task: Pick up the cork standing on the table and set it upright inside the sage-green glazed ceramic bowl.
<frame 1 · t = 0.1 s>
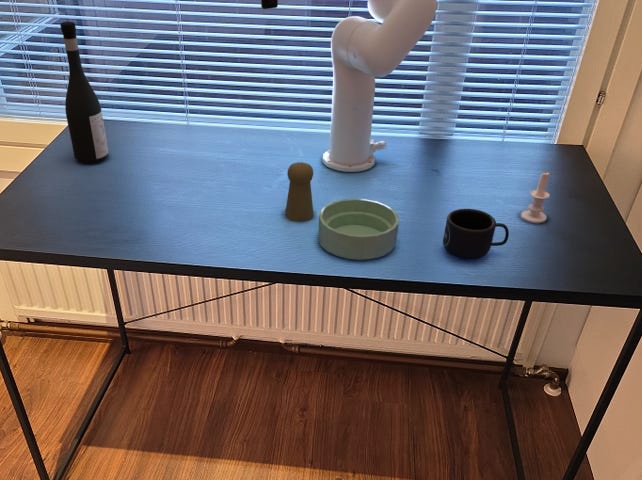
hand: (257, 2, 128), 37 cm above the table, tool pointing down, fingers open, 9 cm apart
mug: (472, 253, 128), on the table
wine bottle: (92, 159, 160), on the table
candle: (533, 218, 140), on the table
bowl: (356, 241, 131), on the table
cork: (299, 215, 139), on the table
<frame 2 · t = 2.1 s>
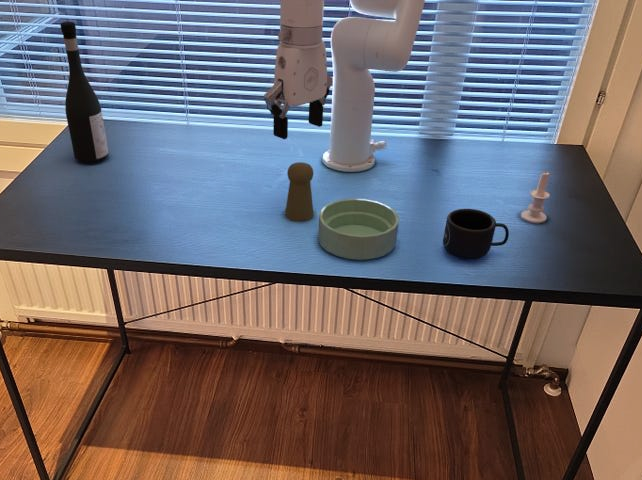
hand: (298, 130, 128), 18 cm above the table, tool pointing down, fingers open, 9 cm apart
nothing on the table moved.
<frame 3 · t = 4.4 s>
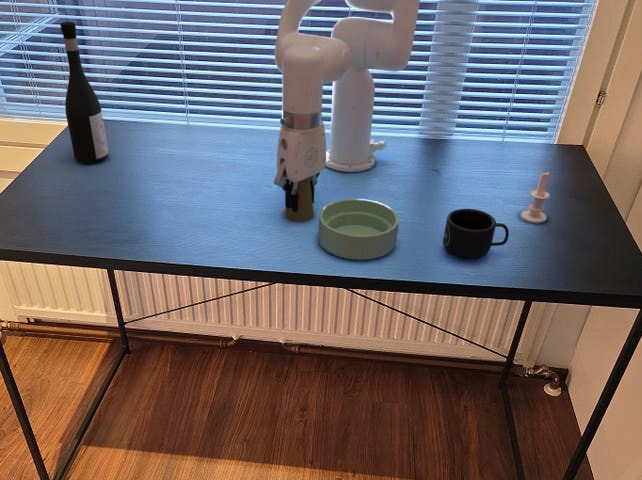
hand: (299, 204, 138), 2 cm above the table, tool pointing down, fingers closed on cork, 4 cm apart
cork: (299, 215, 139), on the table, touching gripper
everything else where it was.
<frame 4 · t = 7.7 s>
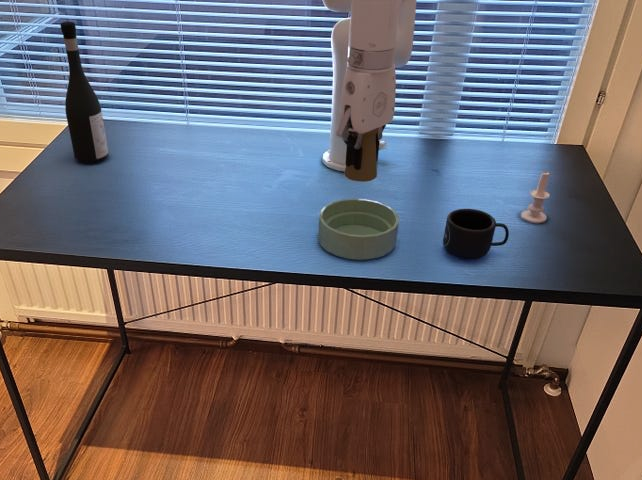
hand: (361, 162, 121), 16 cm above the table, tool pointing down, fingers closed on cork, 4 cm apart
cork: (360, 175, 122), point 14 cm above the table, touching gripper
everything else where it was.
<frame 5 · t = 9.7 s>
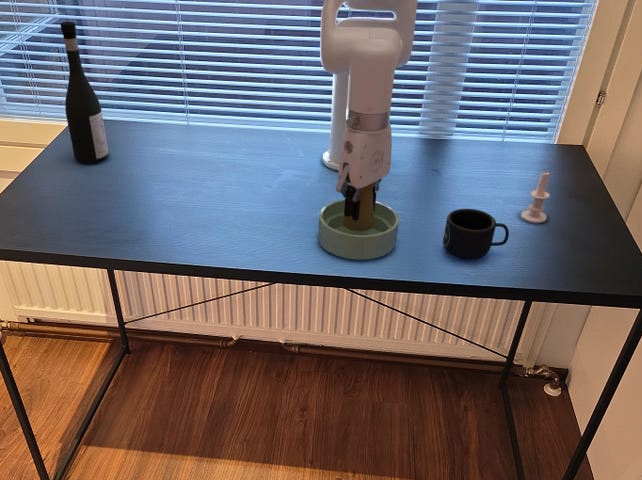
hand: (359, 212, 127), 6 cm above the table, tool pointing down, fingers closed on cork, 4 cm apart
cork: (358, 224, 128), point 4 cm above the table, touching gripper
everything else where it was.
when the fingers open (3 cm above the table, at t = 11.0 s): cork stays where it is, resting on bowl.
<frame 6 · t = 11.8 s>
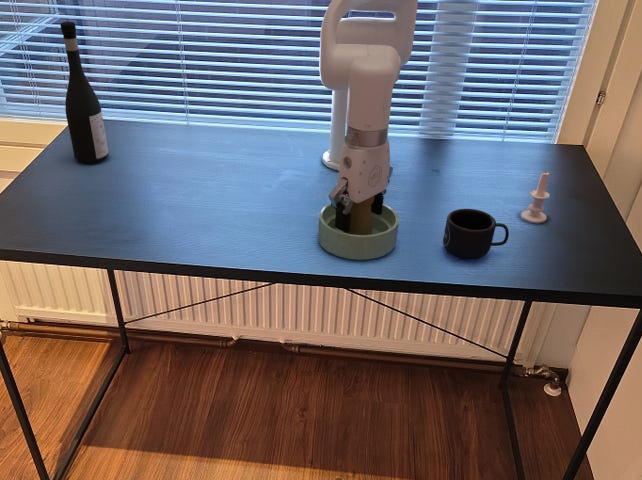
hand: (358, 220, 128), 5 cm above the table, tool pointing down, fingers open, 9 cm apart
cork: (356, 240, 131), resting on bowl
everything else where it was.
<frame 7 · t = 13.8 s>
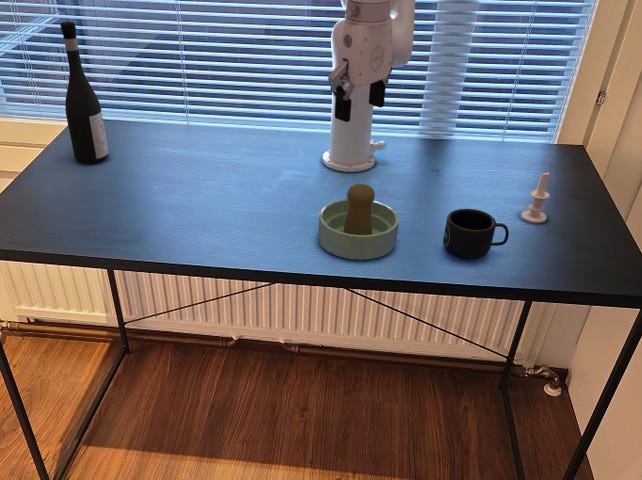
hand: (359, 112, 122), 23 cm above the table, tool pointing down, fingers open, 9 cm apart
nothing on the table moved.
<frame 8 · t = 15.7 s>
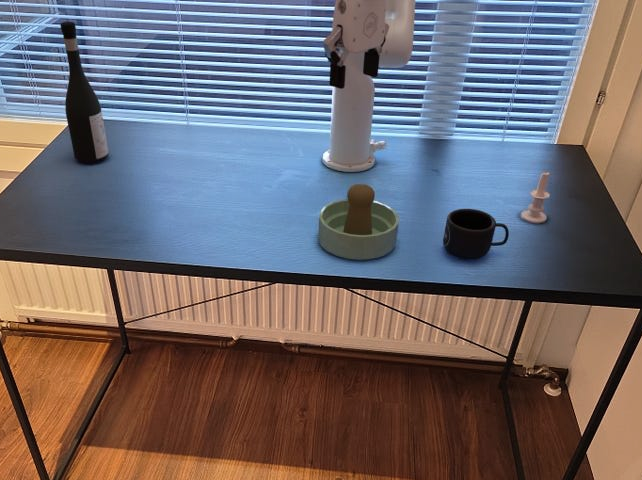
hand: (353, 81, 125), 26 cm above the table, tool pointing down, fingers open, 9 cm apart
nothing on the table moved.
at the end: cork inside the target area in the bowl (0.0 cm from its centre), point 0.4 cm above the bowl's base; cork tilted 0°; the gripper is holding nothing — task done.
